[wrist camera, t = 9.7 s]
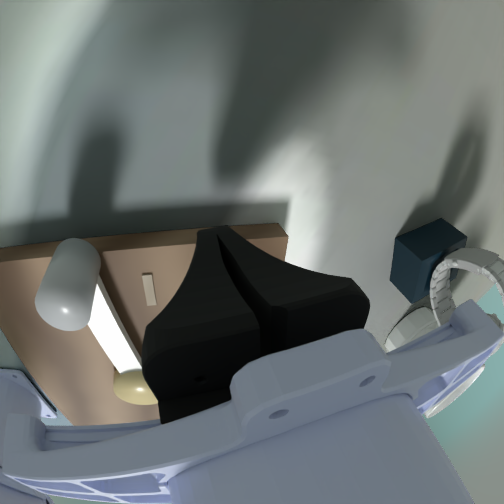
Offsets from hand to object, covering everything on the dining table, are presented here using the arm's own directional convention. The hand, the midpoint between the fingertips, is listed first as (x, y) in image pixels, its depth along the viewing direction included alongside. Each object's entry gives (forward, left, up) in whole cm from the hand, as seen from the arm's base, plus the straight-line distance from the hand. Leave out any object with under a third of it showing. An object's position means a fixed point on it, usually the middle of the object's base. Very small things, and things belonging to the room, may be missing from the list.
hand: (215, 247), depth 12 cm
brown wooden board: (-5, -11, -3) cm, 12 cm away
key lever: (-6, -6, -1) cm, 8 cm away
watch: (+17, -4, -3) cm, 18 cm away
